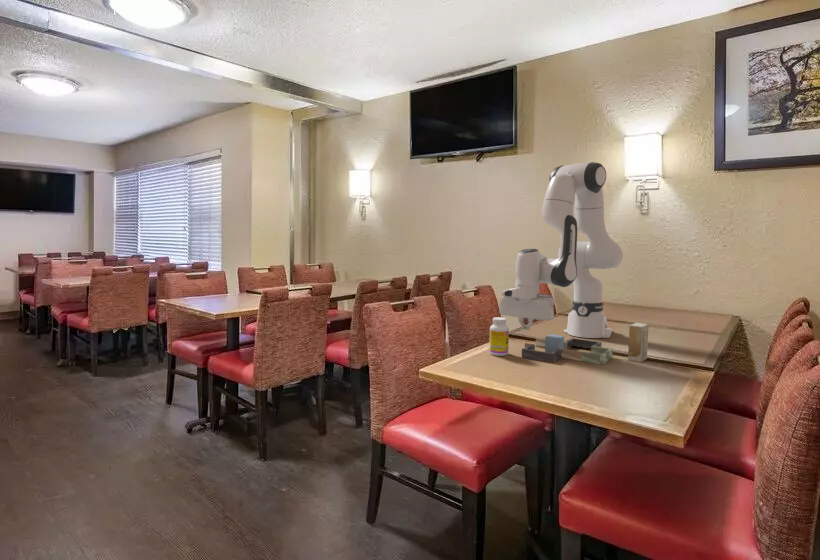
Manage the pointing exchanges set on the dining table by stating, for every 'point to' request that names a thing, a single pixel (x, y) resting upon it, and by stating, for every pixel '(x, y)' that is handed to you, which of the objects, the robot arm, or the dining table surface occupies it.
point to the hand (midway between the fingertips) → (525, 329)
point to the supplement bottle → (499, 337)
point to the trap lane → (569, 352)
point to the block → (553, 343)
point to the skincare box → (638, 342)
